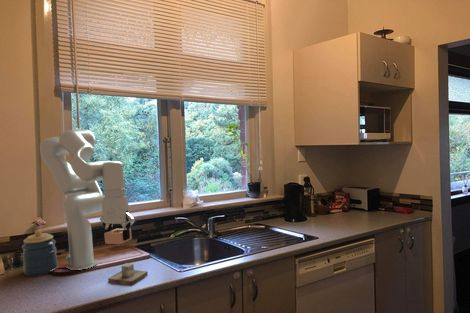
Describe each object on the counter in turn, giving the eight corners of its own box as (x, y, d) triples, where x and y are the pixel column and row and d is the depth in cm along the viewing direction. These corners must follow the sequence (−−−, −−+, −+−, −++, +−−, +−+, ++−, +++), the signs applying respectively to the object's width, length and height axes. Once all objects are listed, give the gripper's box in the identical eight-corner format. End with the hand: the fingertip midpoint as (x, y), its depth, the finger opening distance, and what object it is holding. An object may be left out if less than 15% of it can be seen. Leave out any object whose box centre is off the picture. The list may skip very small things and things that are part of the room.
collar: (105, 243, 140) (104, 233, 140) (117, 238, 146) (116, 228, 146) (119, 244, 137) (119, 233, 137) (131, 239, 144) (131, 229, 143)
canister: (63, 264, 164) (60, 225, 163) (49, 275, 151) (46, 233, 150) (33, 266, 164) (30, 227, 162) (17, 277, 151) (13, 235, 150)
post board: (108, 282, 141) (107, 268, 141) (124, 272, 150) (123, 259, 150) (132, 285, 137) (131, 270, 137) (147, 275, 146) (146, 261, 146)
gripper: (90, 195, 141) (94, 240, 142) (126, 195, 134) (130, 243, 135) (104, 192, 148) (107, 235, 149) (139, 191, 141) (143, 237, 142)
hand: (118, 238), depth 142 cm, fingers closed on collar, 7 cm apart
